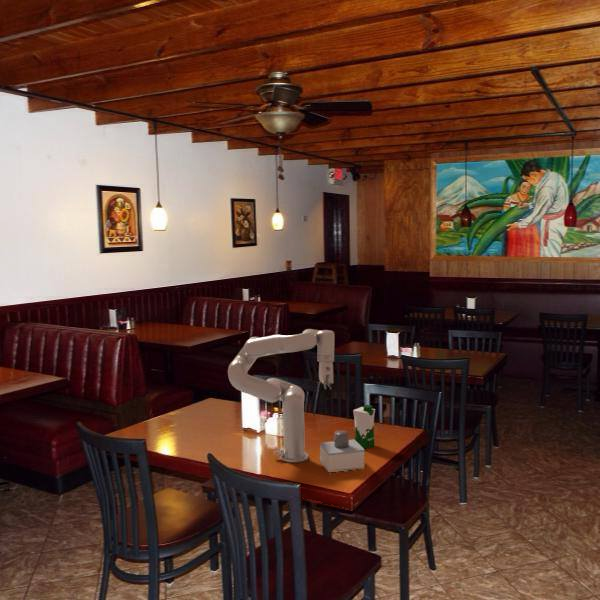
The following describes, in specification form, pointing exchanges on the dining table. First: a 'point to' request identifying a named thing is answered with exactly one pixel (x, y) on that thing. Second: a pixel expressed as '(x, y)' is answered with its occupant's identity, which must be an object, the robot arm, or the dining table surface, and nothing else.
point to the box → (341, 461)
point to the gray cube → (341, 439)
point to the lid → (333, 450)
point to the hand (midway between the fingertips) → (325, 394)
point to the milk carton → (364, 426)
